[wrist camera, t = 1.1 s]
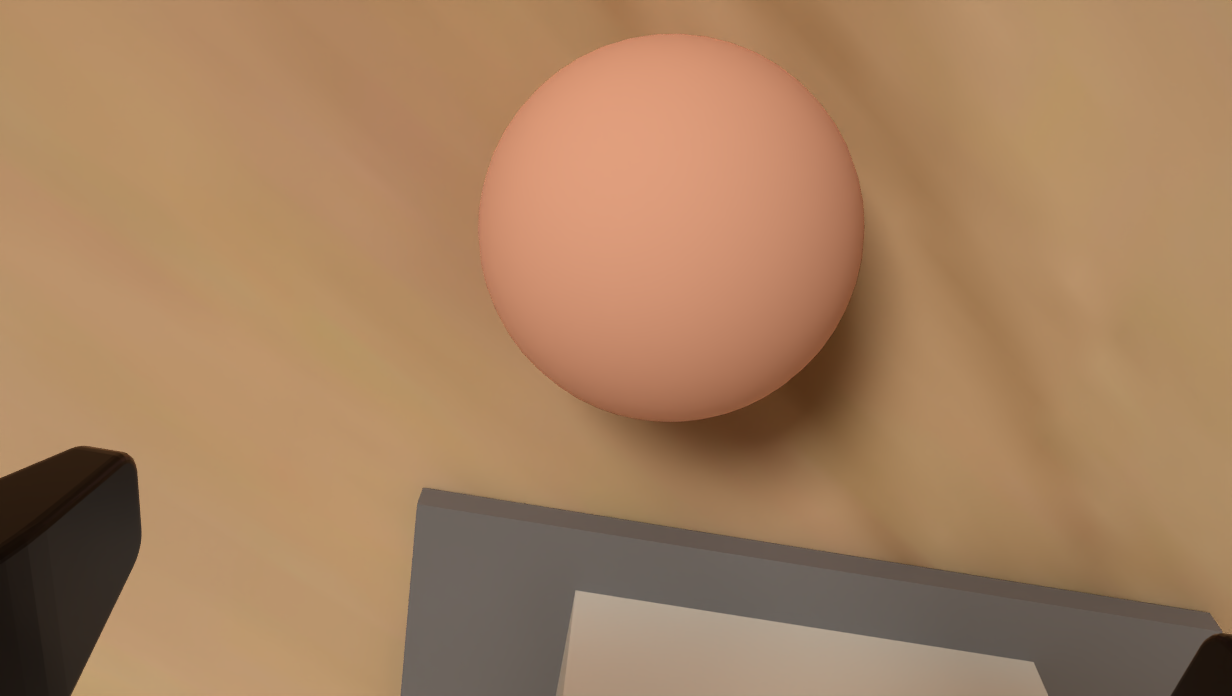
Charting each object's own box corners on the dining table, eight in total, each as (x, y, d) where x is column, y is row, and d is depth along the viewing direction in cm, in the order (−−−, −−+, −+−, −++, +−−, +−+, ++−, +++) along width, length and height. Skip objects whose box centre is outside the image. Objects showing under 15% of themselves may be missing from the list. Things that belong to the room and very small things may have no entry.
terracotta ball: (872, 37, 17) (966, 132, 12) (788, 342, 20) (833, 529, 15) (528, -25, 17) (464, 44, 12) (491, 291, 20) (427, 464, 14)
